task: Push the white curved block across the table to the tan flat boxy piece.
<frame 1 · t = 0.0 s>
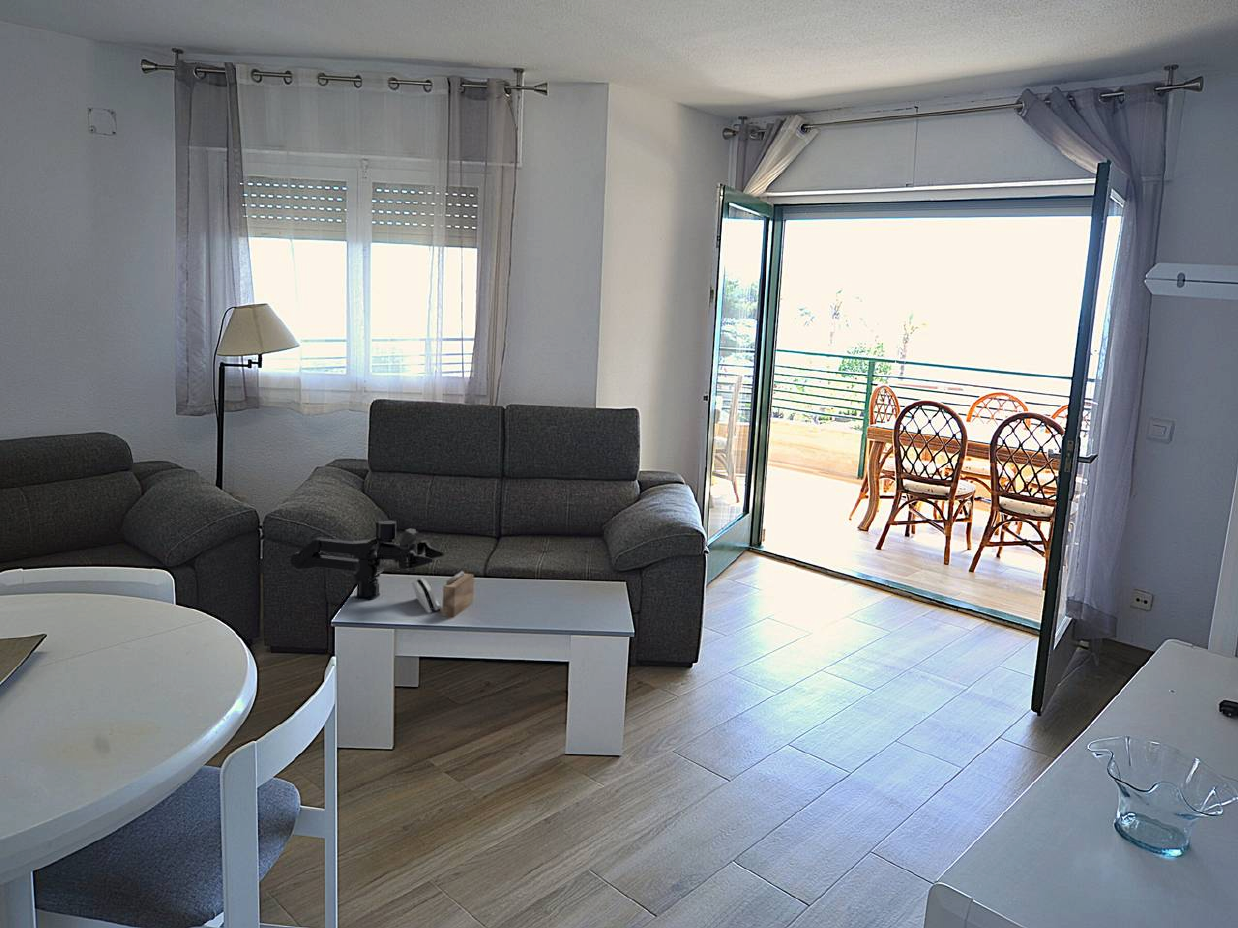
hand: (438, 557, 313), 17 cm above the table, tool horizontal, fingers open, 9 cm apart
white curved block: (425, 606, 315), on the table
tan flat boxy piece: (457, 609, 312), on the table
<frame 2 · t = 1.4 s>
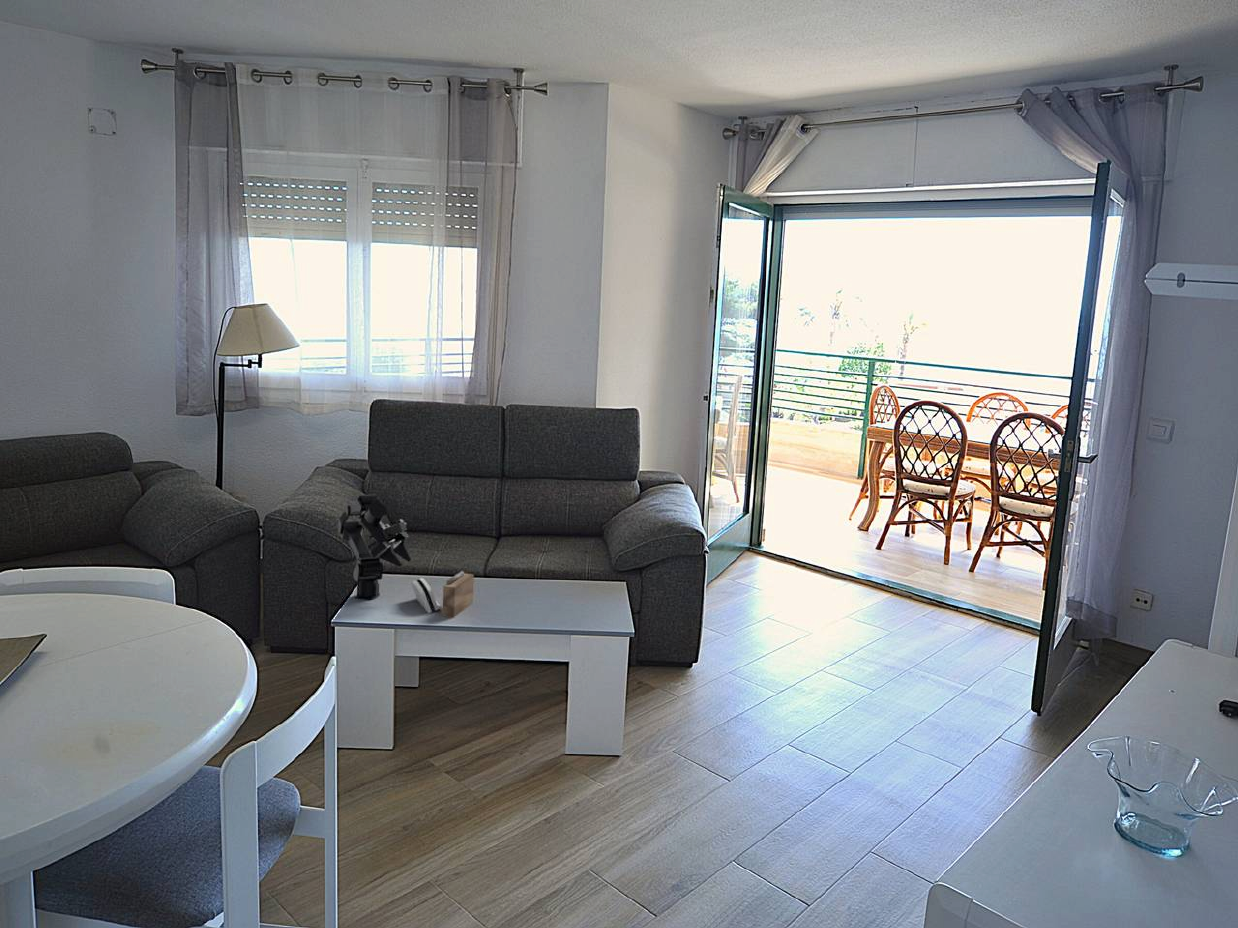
hand: (405, 563, 314), 14 cm above the table, tool tilted 45°, fingers open, 7 cm apart
nothing on the table moved.
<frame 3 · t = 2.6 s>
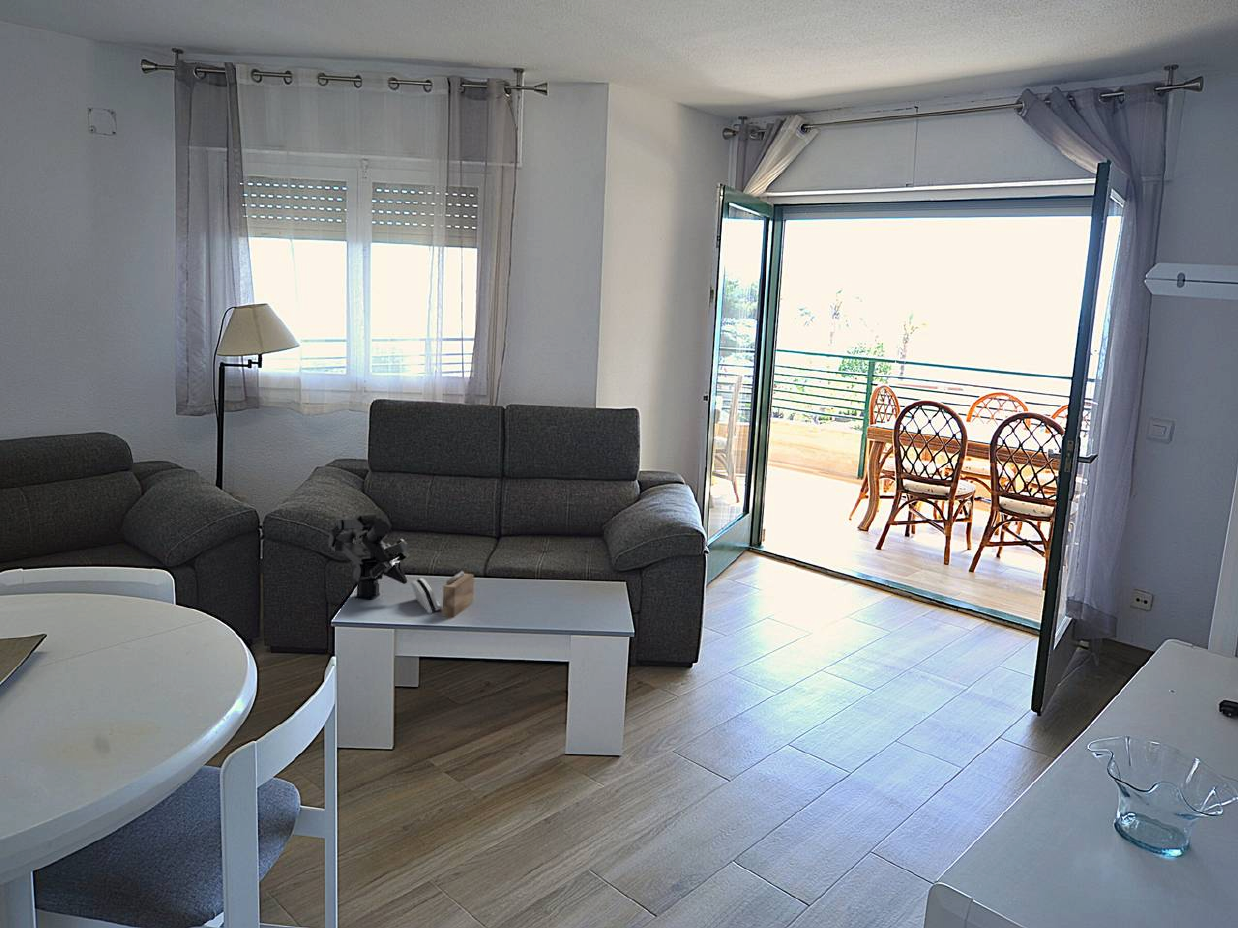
hand: (406, 583, 315), 7 cm above the table, tool tilted 45°, fingers closed
nothing on the table moved.
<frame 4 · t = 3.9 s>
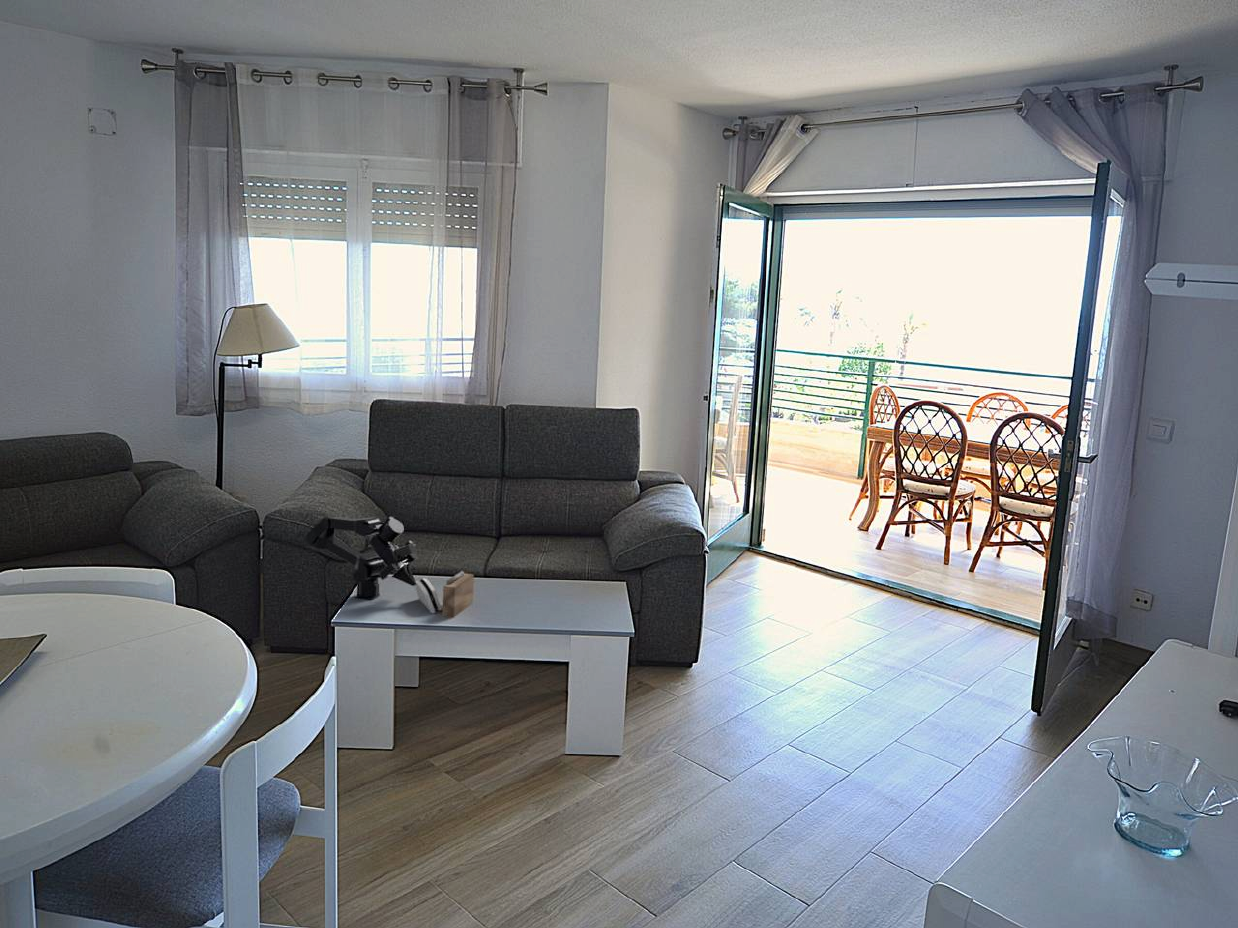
hand: (414, 584, 314), 7 cm above the table, tool tilted 45°, fingers closed
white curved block: (428, 606, 314), on the table, touching gripper
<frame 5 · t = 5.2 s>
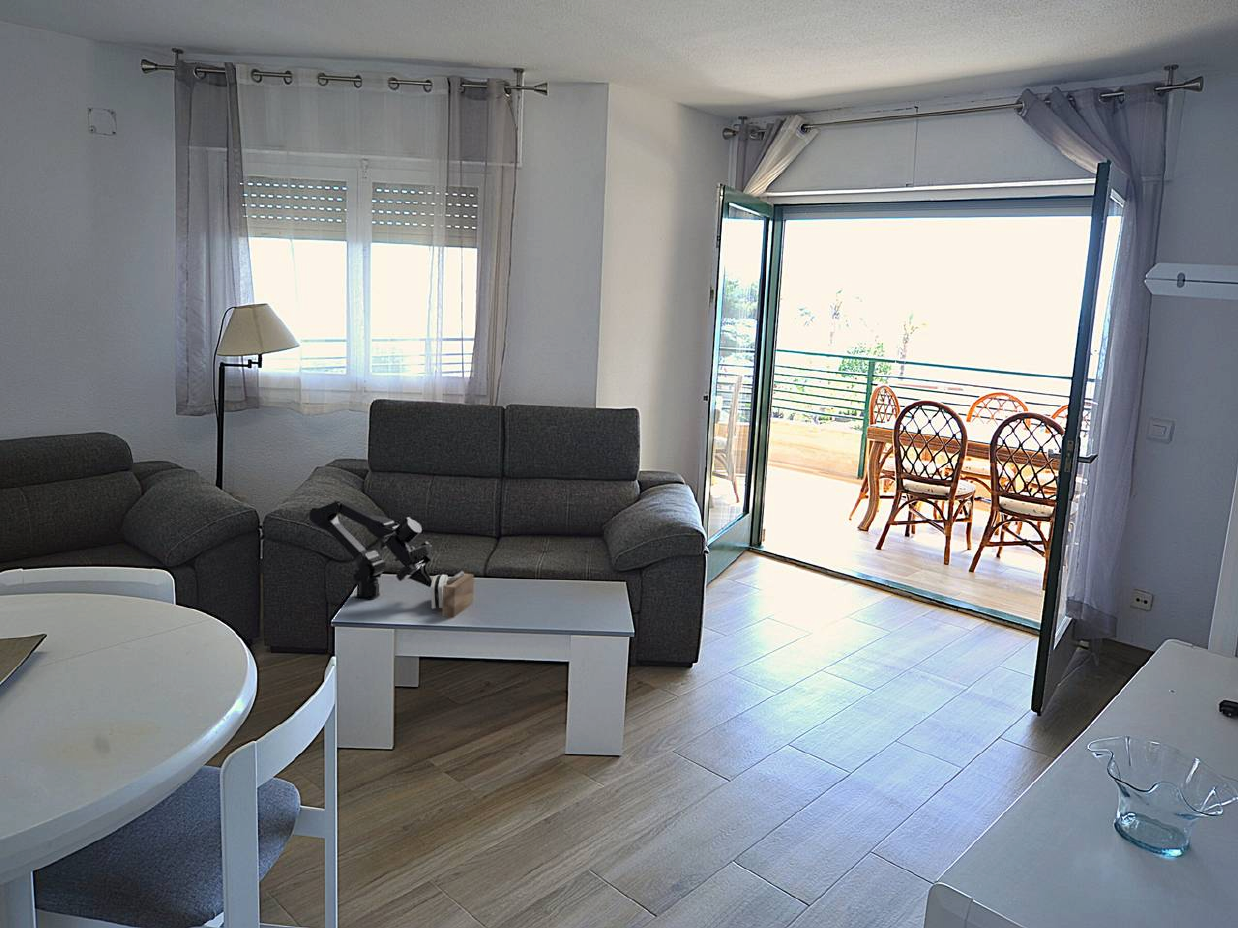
hand: (431, 585, 314), 7 cm above the table, tool tilted 45°, fingers closed
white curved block: (438, 602, 316), point 1 cm above the table, touching gripper
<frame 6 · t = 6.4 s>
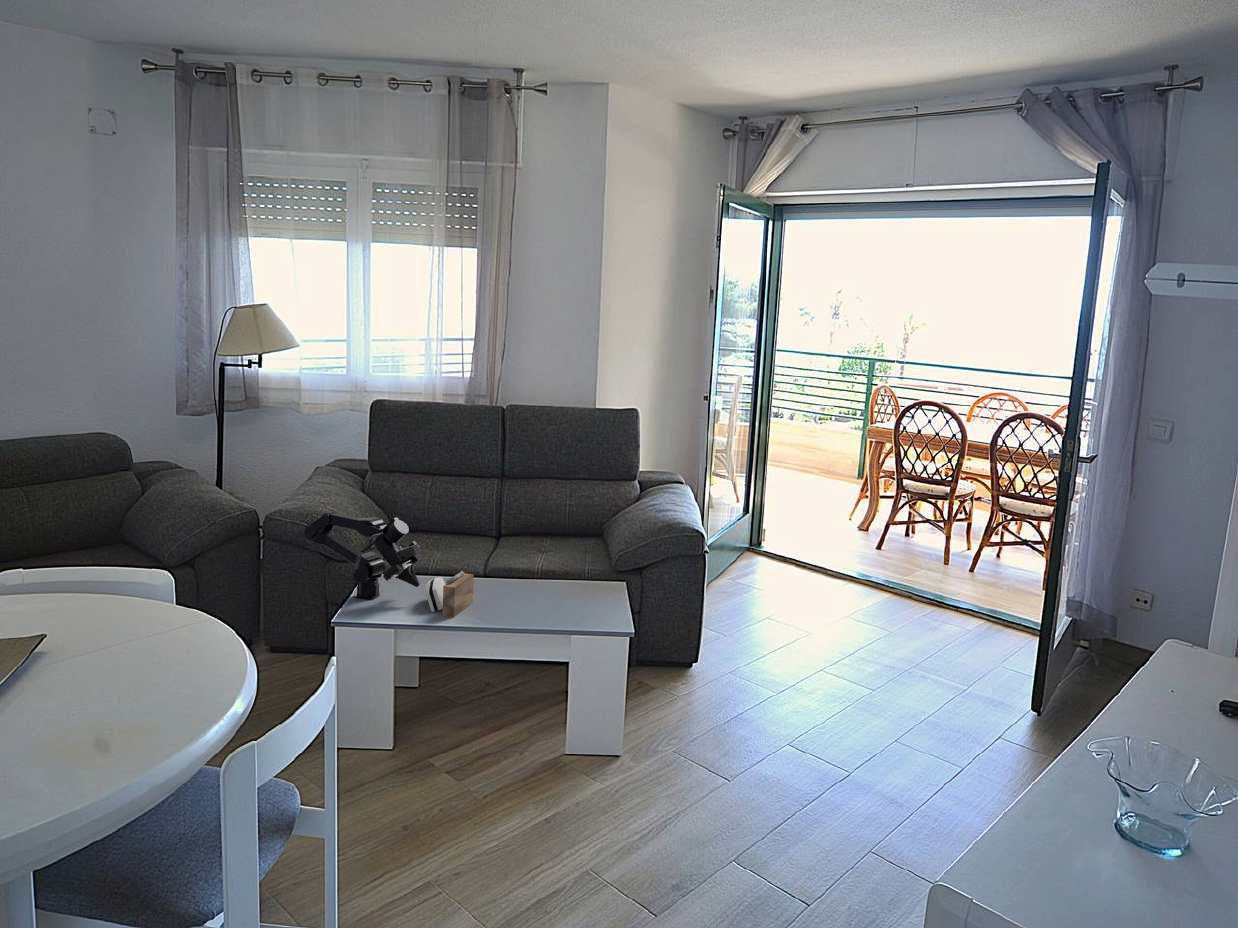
hand: (418, 585, 315), 6 cm above the table, tool tilted 45°, fingers closed
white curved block: (438, 605, 316), on the table
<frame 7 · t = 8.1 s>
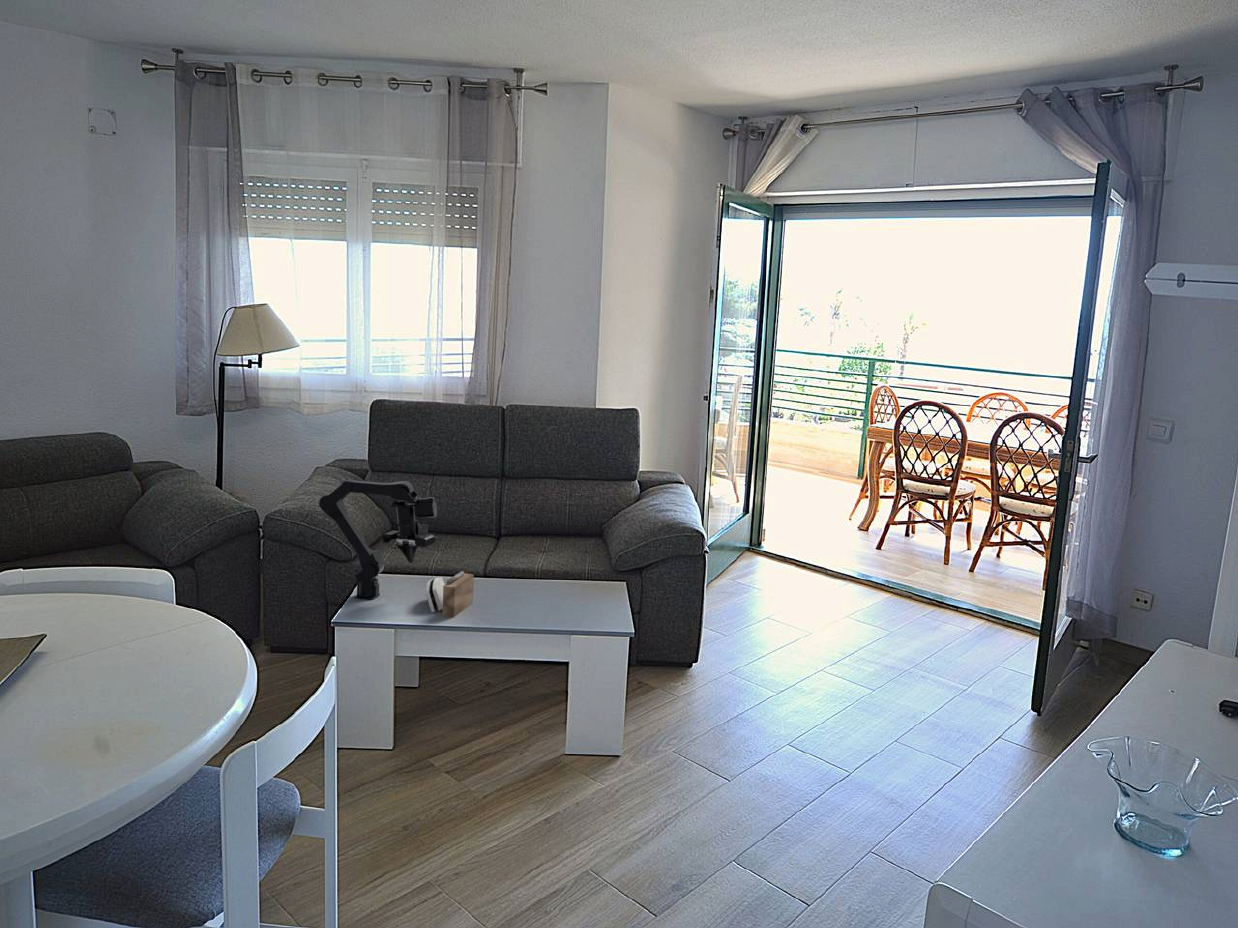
hand: (411, 562, 320), 13 cm above the table, tool pointing down, fingers closed
nothing on the table moved.
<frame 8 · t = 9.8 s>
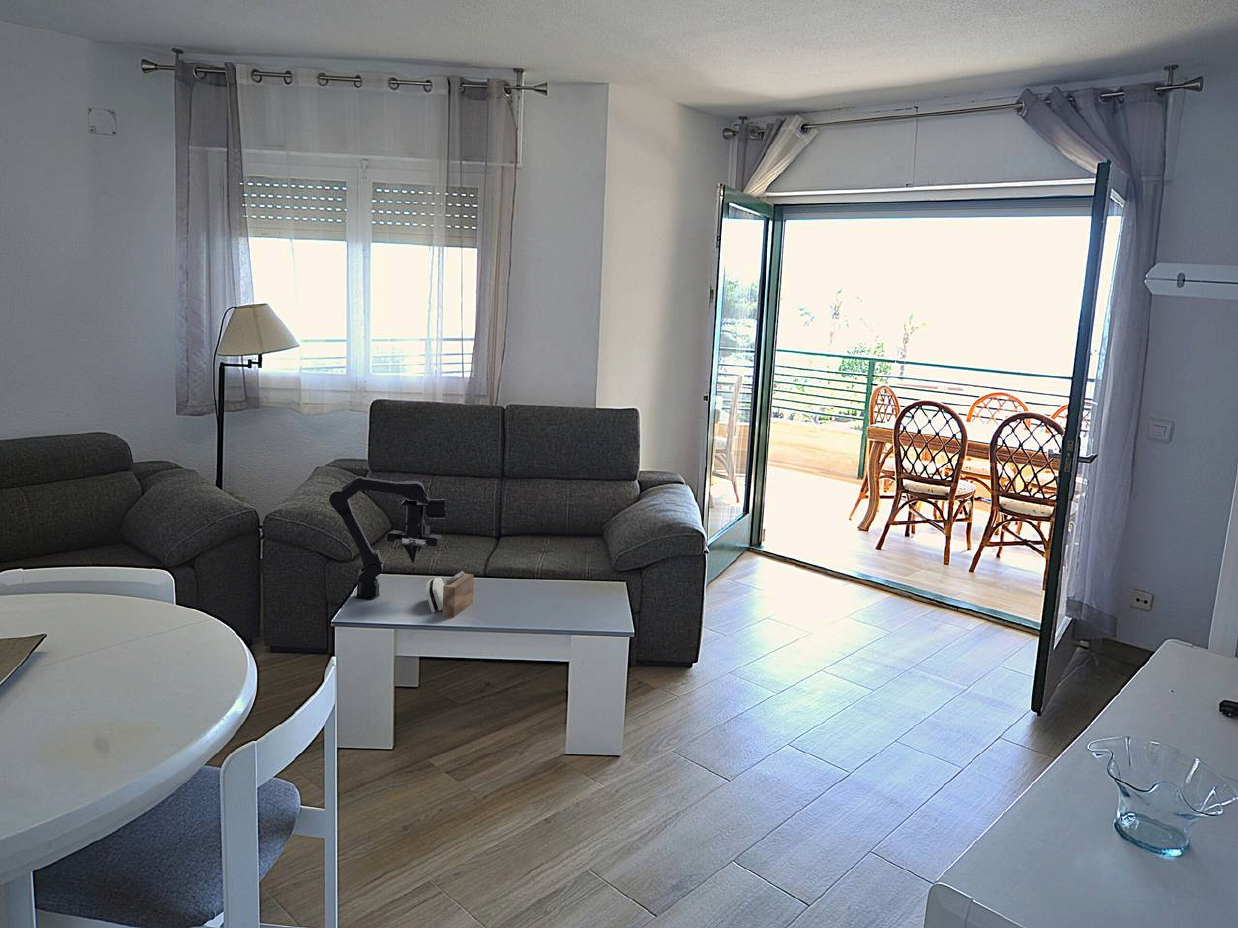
hand: (413, 562, 322), 12 cm above the table, tool pointing down, fingers closed
nothing on the table moved.
at the end: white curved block inside the target area (1.9 cm from its centre), on the table; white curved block moved 4.2 cm from its start; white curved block tilted 0° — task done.
